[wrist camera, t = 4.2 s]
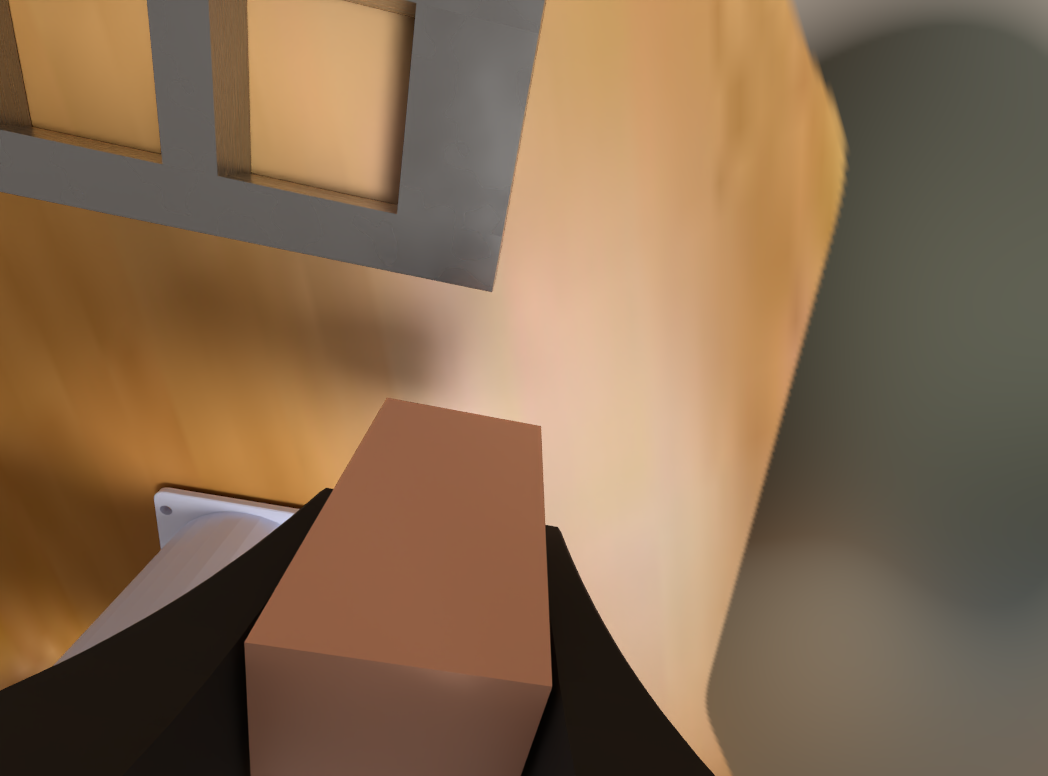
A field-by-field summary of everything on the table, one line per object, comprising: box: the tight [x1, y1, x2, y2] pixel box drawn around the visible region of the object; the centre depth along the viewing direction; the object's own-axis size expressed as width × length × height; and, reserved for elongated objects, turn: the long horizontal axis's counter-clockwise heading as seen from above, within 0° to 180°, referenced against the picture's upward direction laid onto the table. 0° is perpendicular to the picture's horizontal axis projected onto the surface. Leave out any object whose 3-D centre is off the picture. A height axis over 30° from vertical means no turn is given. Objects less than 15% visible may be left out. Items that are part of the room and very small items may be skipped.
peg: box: [244, 398, 552, 776], centre depth 10 cm, size 4×4×7 cm
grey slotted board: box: [0, 0, 546, 292], centre depth 14 cm, size 9×26×2 cm, turn 79°
